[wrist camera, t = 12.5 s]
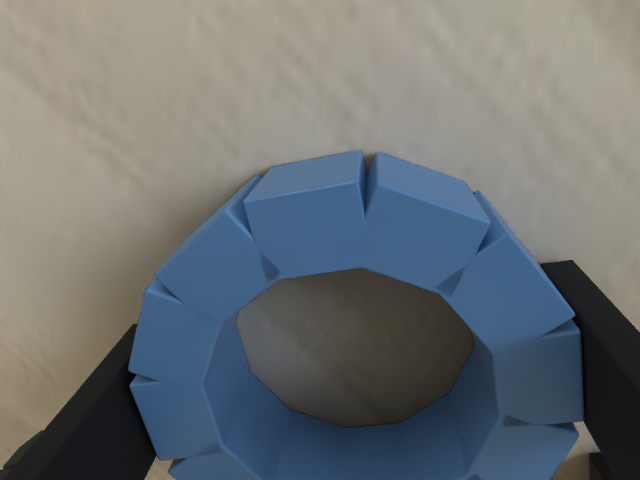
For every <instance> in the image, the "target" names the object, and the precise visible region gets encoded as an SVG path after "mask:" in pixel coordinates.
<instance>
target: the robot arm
mask: <svg viewBox="0 0 640 480" xmlns="http://www.w3.org/2000/svg"><path fill="white" fill-rule="evenodd" d="M540 267H541V268H542V269H543V271H544V272H545V273H546V275H547V276H548V278H549V279H550V280H551V282H552V283H553V284H554V286H555V287H556V288H557V290H558V291H559V292H560V294H561V295H562V296H563V298H564V299H565V301H566V302H567V303H568V305H569V306H570V307H571V309H572V310H573V311H574V313H575V316H574V317H573V318H572V320H573V321H574V323H575V324H576V325H577V327H578V328H579V330H580V331H581V339H582V365H583V390H584V416H585V417H584V420H583V421H584V423H585V425H586V427H587V429H588V430H589V432H590V434H591V436H592V437H593V439H594V441H595V443H596V445H597V446H598V448H599V450H600V452H601V453H602V455H603V457H604V459H605V460H606V462H607V464H608V466H609V468H610V469H611V471H612V473H613V475H614V476H615V478H616V480H640V332H639V331H638V330H637V329H636V328H635V327H634V326H633V325H632V324H631V323H630V322H629V320H628V319H627V318H626V317H625V316H624V315H623V314H622V313H621V312H620V311H619V310H618V309H617V308H616V307H615V305H614V304H613V303H612V302H611V301H610V300H609V299H608V298H607V297H606V296H605V295H604V294H603V293H602V292H601V290H600V289H599V288H598V287H597V286H596V285H595V284H594V283H593V282H592V281H591V280H590V279H589V278H588V276H587V275H586V274H585V273H584V272H583V271H582V270H581V269H580V268H579V267H578V266H577V265H576V264H575V263H574V261H573V260H568V261H561V262H554V263H547V264H541V265H540ZM137 325H138V324H133V325H132V326H131V327H130V329H129V330H128V331H127V332H126V333H125V335H124V336H123V337H122V338H121V339H120V341H119V342H118V343H117V344H116V345H115V346H114V348H113V349H112V350H111V351H110V352H109V354H108V355H107V356H106V357H105V358H104V360H103V361H102V362H101V363H100V364H99V366H98V367H97V368H96V369H95V370H94V371H93V373H92V374H91V375H90V376H89V377H88V379H87V380H86V381H85V382H84V383H83V385H82V386H81V387H80V388H79V389H78V390H77V392H76V393H75V394H74V395H73V396H72V398H71V399H70V400H69V401H68V402H67V404H66V405H65V406H64V407H63V408H62V409H61V411H60V412H59V413H58V414H57V415H56V417H55V418H54V419H53V420H52V421H51V423H50V424H49V425H48V426H47V427H46V428H45V430H42V431H40V432H39V433H37V434H36V435H35V436H34V437H32V438H31V439H30V440H28V441H27V442H26V443H25V444H23V445H22V446H21V447H20V448H19V449H18V450H17V451H16V452H15V453H14V454H13V456H12V457H11V458H10V459H9V460H8V461H7V462H6V464H5V465H4V466H3V467H4V468H3V470H0V480H144V479H145V477H146V475H147V473H148V471H149V469H150V467H151V465H152V463H153V462H154V460H155V458H156V456H157V454H156V452H155V449H154V447H153V444H152V442H151V440H150V437H149V435H148V432H147V430H146V427H145V425H144V422H143V420H142V417H141V415H140V412H139V410H138V407H137V405H136V402H135V400H134V397H133V395H132V392H131V390H130V384H131V382H132V381H133V379H134V378H135V377H136V375H137V374H134V373H131V372H130V371H129V370H128V367H129V362H130V357H131V353H132V348H133V343H134V339H135V334H136V329H137Z"/></svg>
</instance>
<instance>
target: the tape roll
mask: <svg viewBox="0 0 640 480" xmlns="http://www.w3.org/2000/svg"><path fill="white" fill-rule="evenodd" d="M357 268H363V269H366V270H369V271H372V272H375V273H378V274H381V275H384V276H387V277H390V278H393V279H396V280H398V281H401V282H404V283H407V284H410V285H413V286H416V287H419V288H422V289H425V290H428V291H431V292H434V293H437V294H439V295H440V296H441V297H442V298H443V299H444V300H445V301H446V303H447V304H448V305H449V306H450V307H451V308H452V309H453V310H454V312H455V313H456V314H457V315H458V316H459V317H460V318H461V319H462V321H463V322H464V323H465V324H466V325H467V326H468V327H469V328H470V330H471V331H472V332H473V338H474V346H475V347H474V349H473V350H472V352H471V354H470V356H469V358H468V360H467V362H466V364H465V365H464V367H463V369H462V371H461V373H460V375H459V377H458V379H457V381H456V382H455V384H454V386H453V388H452V390H451V392H450V393H449V394H448V395H446V396H444V397H443V398H441V399H440V400H438V401H436V402H435V403H433V404H431V405H430V406H428V407H426V408H425V409H423V410H422V411H420V412H418V413H417V414H415V415H413V416H412V417H410V418H409V419H407V420H405V421H404V422H402V423H395V424H385V425H374V426H364V427H354V428H343V427H340V426H337V425H334V424H331V423H328V422H325V421H322V420H319V419H316V418H313V417H310V416H307V415H304V414H301V413H298V412H295V411H292V410H290V409H289V408H288V407H287V406H286V405H285V404H284V403H283V402H281V401H280V400H279V399H278V398H277V397H276V396H275V395H274V394H273V393H272V392H271V391H270V390H269V389H268V388H267V387H266V386H265V385H264V384H263V383H262V382H261V381H260V380H258V379H257V378H256V377H255V376H254V375H253V374H252V373H251V372H250V368H249V365H248V362H247V358H246V355H245V352H244V348H243V345H242V342H241V338H240V335H239V332H238V329H237V325H236V319H237V316H238V313H239V311H240V310H241V309H242V308H243V307H245V306H246V305H247V304H248V303H250V302H251V301H252V300H253V299H255V298H256V297H257V296H258V295H260V294H261V293H262V292H263V291H265V290H266V289H267V288H268V287H270V286H271V285H272V284H273V283H275V282H276V281H277V280H283V279H290V278H297V277H303V276H310V275H317V274H323V273H330V272H337V271H343V270H350V269H357ZM154 276H155V278H156V279H155V280H154V281H153V282H152V283H151V284H150V285H149V286H148V287H147V288H146V290H145V292H144V297H143V301H142V306H141V311H140V315H139V320H138V325H137V329H136V334H135V339H134V343H133V348H132V353H131V357H130V362H129V367H128V370H129V371H130V372H131V373H134V374H137V375H136V377H135V378H134V379H133V381H132V382H131V384H130V390H131V392H132V395H133V397H134V400H135V402H136V405H137V407H138V410H139V412H140V415H141V417H142V420H143V422H144V425H145V427H146V430H147V432H148V435H149V437H150V440H151V442H152V444H153V447H154V449H155V452H156V454H157V457H158V459H159V460H172V459H174V460H173V462H172V464H171V466H170V468H169V470H168V473H169V474H170V475H171V476H172V477H174V478H175V479H176V480H550V479H551V477H552V476H553V474H554V473H555V471H556V470H557V469H558V467H559V466H560V464H561V463H562V461H563V460H564V458H565V457H566V455H567V454H568V452H569V451H570V449H571V448H572V447H573V445H574V444H575V442H576V441H577V439H578V437H579V433H578V431H577V430H576V428H575V426H574V424H573V422H580V421H583V420H584V417H585V416H584V390H583V365H582V339H581V331H580V330H579V328H578V327H577V325H576V324H575V323H574V321H573V320H572V318H573V317H574V316H575V313H574V311H573V310H572V309H571V307H570V306H569V305H568V303H567V302H566V301H565V299H564V298H563V296H562V295H561V294H560V292H559V291H558V290H557V288H556V287H555V286H554V284H553V283H552V282H551V280H550V279H549V278H548V276H547V275H546V273H545V272H544V271H543V269H542V268H541V267H540V265H539V264H538V263H537V261H536V260H535V259H534V257H533V256H532V255H531V253H530V252H529V251H528V250H527V249H526V247H525V246H524V245H523V244H522V242H521V241H520V240H519V239H518V237H517V236H516V235H515V234H514V233H513V231H512V230H511V229H510V228H509V226H508V225H507V224H506V223H505V221H504V220H503V219H502V218H501V217H500V215H499V214H498V213H497V212H496V210H495V209H494V208H493V207H492V205H491V204H490V203H489V202H488V201H487V199H486V198H485V197H484V196H483V194H482V193H481V192H480V191H477V192H476V193H475V194H473V193H472V192H471V190H470V189H469V187H468V186H467V184H466V183H465V182H464V181H462V180H459V179H457V178H454V177H451V176H448V175H445V174H442V173H439V172H436V171H434V170H431V169H428V168H425V167H422V166H419V165H416V164H413V163H411V162H408V161H405V160H402V159H399V158H396V157H393V156H390V155H387V154H385V153H382V152H378V153H377V154H376V155H375V158H374V160H373V163H372V166H371V169H370V171H369V174H368V177H367V175H366V170H365V164H364V159H363V153H362V151H361V150H357V151H352V152H346V153H341V154H336V155H330V156H325V157H320V158H315V159H309V160H304V161H299V162H293V163H288V164H283V165H278V166H273V167H271V168H270V169H269V171H268V172H267V173H266V174H265V176H264V177H263V178H261V177H260V176H259V175H255V176H254V177H253V178H252V179H251V180H250V181H248V182H247V183H246V184H245V185H244V186H243V187H242V188H241V189H240V190H239V191H237V192H236V193H235V194H234V195H233V196H232V197H231V198H230V199H229V200H228V201H226V202H225V203H224V204H223V205H222V206H221V207H220V208H219V209H218V210H216V211H215V212H214V213H213V214H212V215H211V216H210V217H209V218H208V219H207V220H205V221H204V222H203V223H202V224H201V225H200V226H199V227H198V228H197V229H196V230H195V231H194V232H193V233H192V234H191V235H190V236H189V237H188V238H187V239H186V240H185V241H184V242H183V244H182V245H181V246H180V247H179V248H178V249H177V250H176V251H175V252H174V253H173V254H172V255H171V256H170V257H169V258H168V259H167V260H166V261H165V262H164V263H163V264H162V265H161V267H160V268H159V269H158V270H157V271H156V272H155V275H154Z"/></svg>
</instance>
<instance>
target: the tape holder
mask: <svg viewBox="0 0 640 480" xmlns="http://www.w3.org/2000/svg"><path fill="white" fill-rule="evenodd" d="M589 461H590V480H616V478H615V476H614V475H613V473H612V471H611V469H610V468H609V466H608V464H607V462H606V460H605V459H604V457H603V455H602V453H591V454H589Z"/></svg>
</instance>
